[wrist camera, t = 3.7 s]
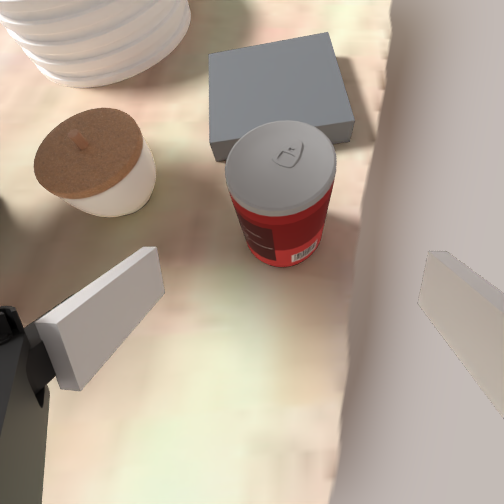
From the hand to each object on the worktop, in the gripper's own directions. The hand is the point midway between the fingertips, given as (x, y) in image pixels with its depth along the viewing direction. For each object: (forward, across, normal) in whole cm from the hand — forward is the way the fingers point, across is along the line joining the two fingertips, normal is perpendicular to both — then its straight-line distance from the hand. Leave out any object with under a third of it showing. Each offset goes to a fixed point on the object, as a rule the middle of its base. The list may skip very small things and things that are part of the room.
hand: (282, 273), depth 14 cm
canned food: (+15, -1, -3) cm, 16 cm away
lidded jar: (+19, -20, +1) cm, 27 cm away
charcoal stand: (+28, -2, +11) cm, 30 cm away
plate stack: (+43, -31, +25) cm, 59 cm away
